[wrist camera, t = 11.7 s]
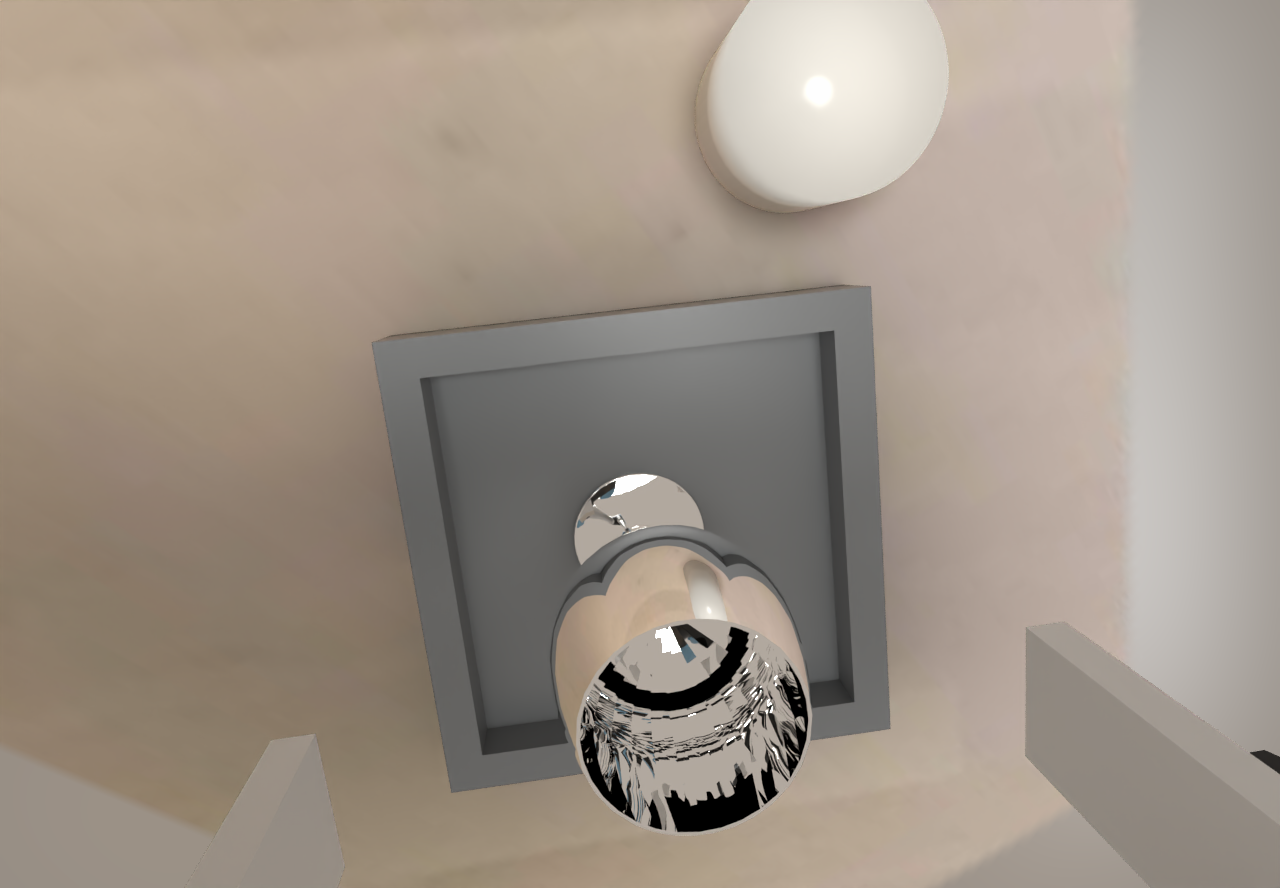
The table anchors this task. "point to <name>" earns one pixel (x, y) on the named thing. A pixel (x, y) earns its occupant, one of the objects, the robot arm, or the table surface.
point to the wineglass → (675, 664)
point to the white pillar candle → (821, 99)
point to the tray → (626, 443)
